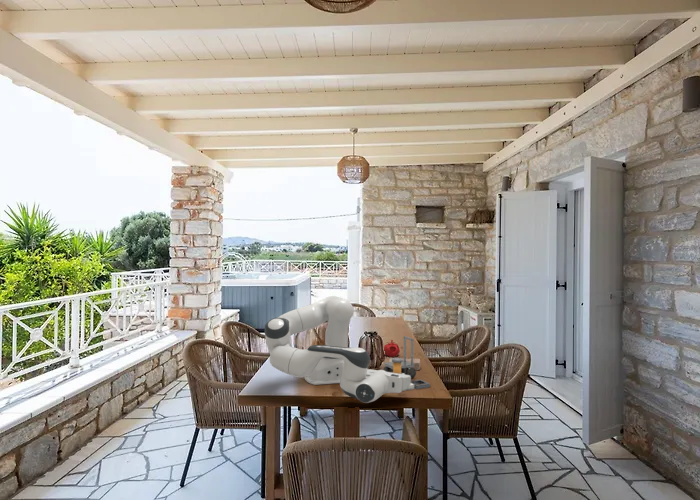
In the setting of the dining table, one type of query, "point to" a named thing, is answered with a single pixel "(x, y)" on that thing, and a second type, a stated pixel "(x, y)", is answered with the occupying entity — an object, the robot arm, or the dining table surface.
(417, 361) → the brick
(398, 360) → the pin
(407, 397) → the dining table surface
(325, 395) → the dining table surface
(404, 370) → the trolley
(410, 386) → the tray
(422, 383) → the socket
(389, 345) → the red hollow tomato
